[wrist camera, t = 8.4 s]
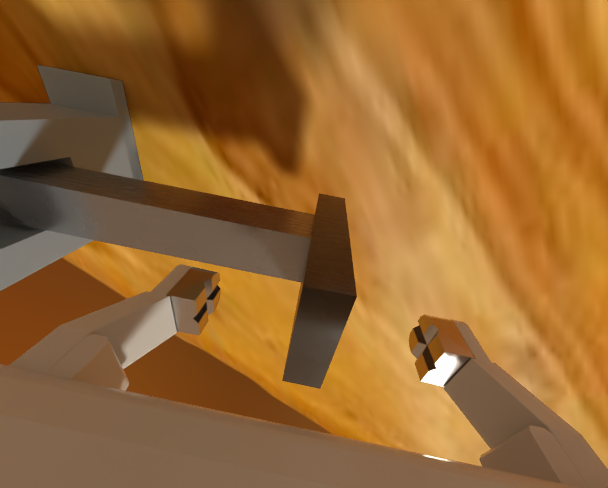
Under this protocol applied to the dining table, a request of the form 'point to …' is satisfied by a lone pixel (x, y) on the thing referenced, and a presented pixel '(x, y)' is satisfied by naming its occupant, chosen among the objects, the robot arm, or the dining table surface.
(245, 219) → the shaft
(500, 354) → the dining table surface
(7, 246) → the bearing block
